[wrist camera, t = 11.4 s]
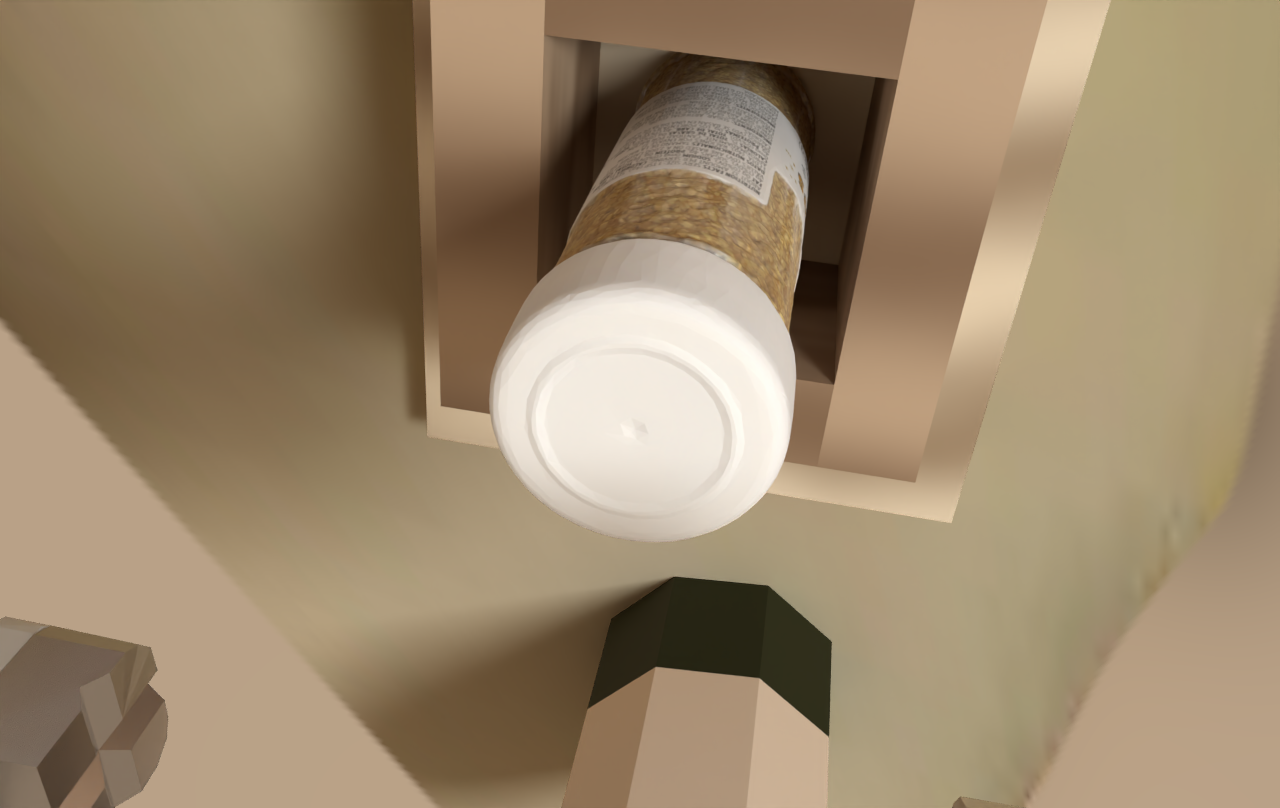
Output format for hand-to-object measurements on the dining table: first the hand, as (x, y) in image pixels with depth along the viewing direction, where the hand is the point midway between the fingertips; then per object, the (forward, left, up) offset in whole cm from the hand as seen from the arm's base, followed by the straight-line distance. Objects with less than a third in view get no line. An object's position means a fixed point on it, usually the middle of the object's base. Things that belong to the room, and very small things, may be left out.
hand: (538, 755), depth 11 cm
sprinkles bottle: (0, 0, -20) cm, 20 cm away
